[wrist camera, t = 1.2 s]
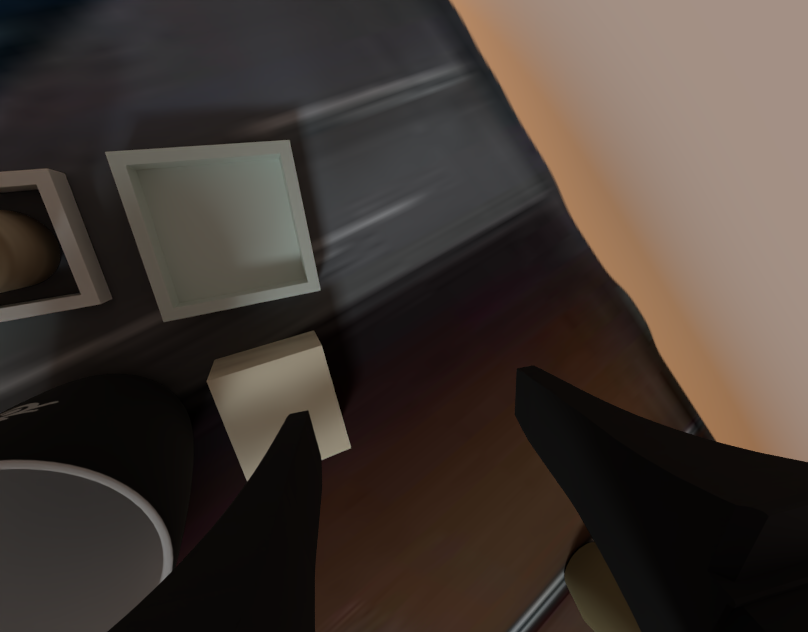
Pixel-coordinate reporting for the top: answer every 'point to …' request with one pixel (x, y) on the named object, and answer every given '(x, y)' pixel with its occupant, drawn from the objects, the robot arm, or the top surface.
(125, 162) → the tray
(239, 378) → the push block
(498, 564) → the top surface
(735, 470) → the robot arm
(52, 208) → the collar
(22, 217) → the dowel
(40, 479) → the mug
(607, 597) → the squeeze bottle
